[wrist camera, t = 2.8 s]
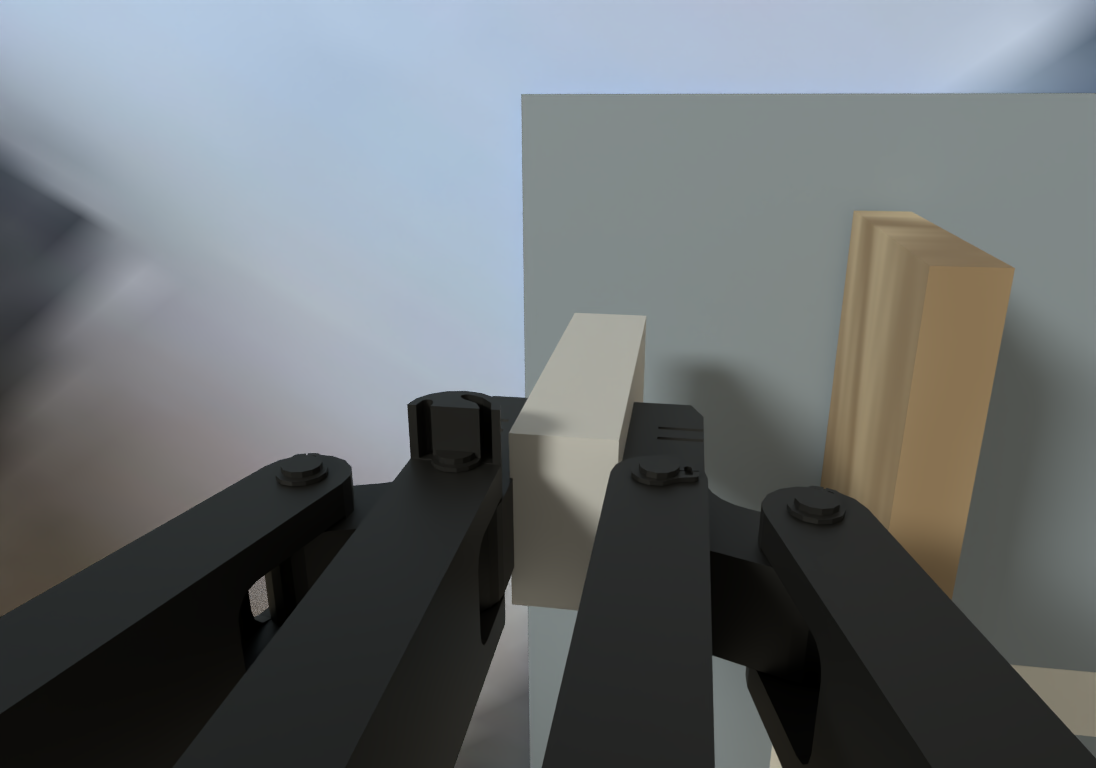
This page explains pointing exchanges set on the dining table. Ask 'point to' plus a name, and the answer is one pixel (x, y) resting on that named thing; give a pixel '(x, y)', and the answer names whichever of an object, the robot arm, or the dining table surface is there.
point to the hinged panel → (914, 380)
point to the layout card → (833, 323)
